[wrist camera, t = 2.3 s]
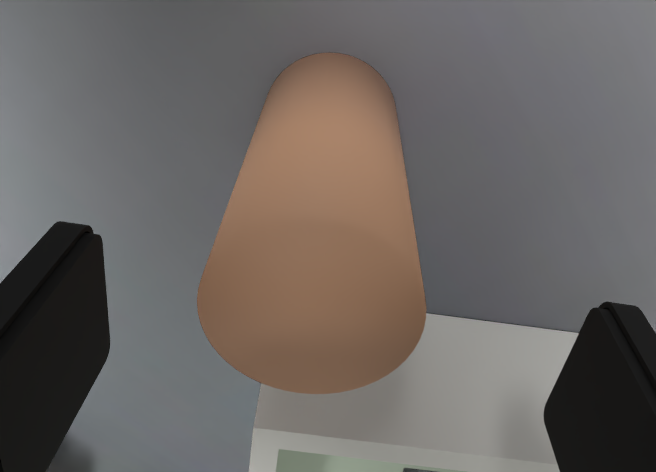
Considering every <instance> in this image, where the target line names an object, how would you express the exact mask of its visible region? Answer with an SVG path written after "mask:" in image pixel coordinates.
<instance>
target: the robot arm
mask: <svg viewBox="0 0 656 472" xmlns="http://www.w3.org/2000/svg"><path fill="white" fill-rule="evenodd" d="M109 349H110V334H109V321H108V308H107V295H106V282H105V269H104V256H103V243H102V238H101V236H100V235H97V234H94V233H93V230H92V228H91V227H90V226H88V225H82V224H75V223H68V222H61V221H60V222H56V223H55V224H54V225H53V226H52V227H51V228H50V229H49V230H48V231H47V233H46V234H45V235H44V236H43V237H42V238H41V239H40V240H39V241H38V242H37V244H36V245H35V246H34V247H33V248H32V249H31V250H30V251H29V252H28V253H27V255H26V256H25V257H24V258H23V259H22V260H21V261H20V262H19V263H18V264H17V266H16V267H15V268H14V269H13V270H12V271H11V272H10V273H9V274H8V275H7V277H6V278H5V279H4V280H3V281H2V282H1V283H0V472H46V470H47V468H48V467H49V465H50V463H51V461H52V459H53V457H54V455H55V454H56V452H57V450H58V448H59V446H60V444H61V443H62V441H63V439H64V437H65V435H66V433H67V432H68V430H69V428H70V426H71V424H72V422H73V421H74V419H75V417H76V415H77V413H78V411H79V410H80V408H81V406H82V404H83V402H84V400H85V399H86V397H87V395H88V393H89V391H90V389H91V387H92V386H93V384H94V382H95V380H96V378H97V376H98V375H99V373H100V371H101V369H102V367H103V365H104V364H105V362H106V359H107V357H108V354H109ZM544 423H545V427H546V430H547V433H548V436H549V439H550V442H551V446H552V449H553V452H554V455H555V458H556V461H557V464H558V467H559V470H560V472H656V333H655V332H654V330H653V328H652V327H651V325H650V324H649V322H648V321H647V319H646V317H645V316H644V314H643V313H642V311H641V310H640V309H639V308H638V307H636V306H632V305H625V304H619V303H612V302H604V303H602V304H601V305H600V306H599V308H593V309H591V310H590V312H589V313H588V315H587V317H586V320H585V322H584V324H583V326H582V328H581V330H580V332H579V334H578V336H577V339H576V341H575V343H574V345H573V347H572V349H571V351H570V353H569V355H568V358H567V360H566V362H565V364H564V366H563V368H562V370H561V372H560V374H559V377H558V379H557V381H556V383H555V385H554V387H553V389H552V391H551V393H550V396H549V398H548V400H547V402H546V404H545V407H544Z"/></svg>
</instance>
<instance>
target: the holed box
mask: <svg viewBox="0 0 656 472" xmlns="http://www.w3.org/2000/svg"><path fill="white" fill-rule="evenodd" d="M578 334H579V333H574V332H566V331H558V330H551V329H543V328H536V327H528V326H520V325H513V324H505V323H497V322H490V321H482V320H474V319H467V318H459V317H451V316H444V315H436V314H429V313H426V321H425V326H424V330H423V333H422V335H421V338H420V340H419V342H418V344H417V345H416V347H415V349H414V351H413V352H412V353H411V354H410V355H409V357H408V358H407V359H406V360H405V361H404V362H403V363H402V364H401V365H400V366H399V367H398V368H396V369H395V370H394V371H392V372H391V373H390V374H388V375H387V376H385V377H383V378H381V379H379V380H378V381H376V382H373V383H371V384H369V385H366V386H363V387H360V388H357V389H354V390H349V391H344V392H339V393H330V394H305V393H296V392H290V391H285V390H281V389H277V388H273V387H271V386H268V385H265V384H262V383H261V387H260V393H259V398H258V404H257V410H256V415H255V421H254V426H253V435H252V445H251V456H250V466H249V472H403V469H404V468H412V469H421V470H429V471H437V472H560V470H559V467H558V464H557V461H556V458H555V455H554V452H553V449H552V446H551V442H550V439H549V436H548V433H547V430H546V427H545V423H544V407H545V404H546V402H547V400H548V398H549V396H550V393H551V391H552V389H553V387H554V385H555V383H556V381H557V379H558V377H559V374H560V372H561V370H562V368H563V366H564V364H565V362H566V360H567V358H568V355H569V353H570V351H571V349H572V347H573V345H574V343H575V341H576V339H577V336H578Z"/></svg>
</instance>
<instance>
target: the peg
mask: <svg viewBox="0 0 656 472" xmlns="http://www.w3.org/2000/svg"><path fill="white" fill-rule="evenodd" d="M197 307H198V315H199V319H200V323H201V326H202V328H203V330H204V333H205V335H206V337H207V338H208V340H209V342H210V343H211V345H212V346H213V347H214V349H215V350H216V351H217V352H218V354H219V355H220V356H221V357H222V358H223V359H224V360H225V361H226V362H227V363H229V364H230V365H231V366H233V367H234V368H235V369H236V370H238V371H239V372H241V373H243V374H244V375H246V376H248V377H249V378H252V379H254V380H256V381H258V382H260V383H262V384H265V385H268V386H271V387H273V388H277V389H281V390H285V391H290V392H296V393H305V394H330V393H339V392H344V391H349V390H354V389H357V388H360V387H363V386H366V385H369V384H371V383H373V382H376V381H378V380H379V379H381V378H383V377H385V376H387V375H388V374H390V373H391V372H392V371H394V370H395V369H396V368H398V367H399V366H400V365H401V364H402V363H403V362H404V361H405V360H406V359H407V358H408V357H409V355H410V354H411V353H412V352H413V351H414V349H415V347H416V345H417V344H418V342H419V340H420V338H421V335H422V333H423V330H424V326H425V321H426V300H425V293H424V287H423V280H422V274H421V267H420V261H419V254H418V248H417V242H416V235H415V229H414V222H413V216H412V209H411V203H410V196H409V190H408V183H407V177H406V170H405V164H404V158H403V151H402V145H401V138H400V132H399V125H398V119H397V112H396V106H395V101H394V98H393V95H392V93H391V90H390V88H389V86H388V85H387V83H386V82H385V80H384V79H383V78H382V76H381V75H380V74H379V73H378V72H377V71H376V70H375V69H374V68H372V67H371V66H370V65H368V64H367V63H365V62H363V61H361V60H360V59H358V58H355V57H352V56H349V55H345V54H341V53H319V54H313V55H310V56H307V57H304V58H302V59H300V60H298V61H296V62H294V63H293V64H291V65H290V66H288V67H287V68H286V69H285V70H284V71H282V72H281V74H280V75H279V76H278V77H277V78H276V80H275V81H274V83H273V84H272V86H271V88H270V90H269V92H268V95H267V98H266V100H265V103H264V106H263V109H262V112H261V114H260V117H259V120H258V123H257V125H256V128H255V131H254V134H253V136H252V139H251V142H250V145H249V148H248V150H247V153H246V156H245V159H244V161H243V164H242V167H241V170H240V172H239V175H238V178H237V181H236V184H235V186H234V189H233V192H232V195H231V197H230V200H229V203H228V206H227V208H226V211H225V214H224V217H223V219H222V222H221V225H220V228H219V231H218V233H217V236H216V239H215V242H214V244H213V247H212V250H211V253H210V255H209V258H208V261H207V264H206V267H205V269H204V272H203V275H202V278H201V281H200V285H199V288H198V296H197Z"/></svg>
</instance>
